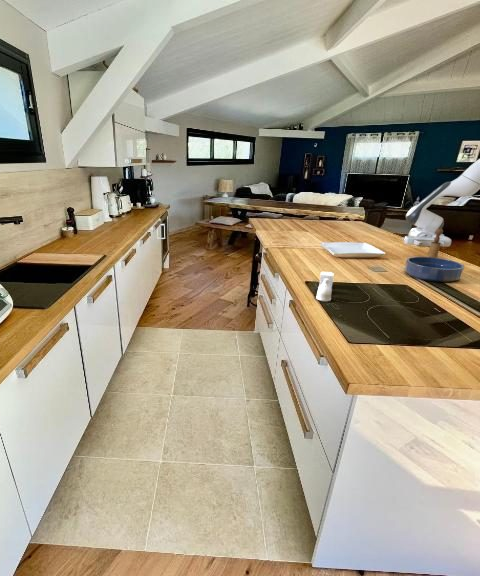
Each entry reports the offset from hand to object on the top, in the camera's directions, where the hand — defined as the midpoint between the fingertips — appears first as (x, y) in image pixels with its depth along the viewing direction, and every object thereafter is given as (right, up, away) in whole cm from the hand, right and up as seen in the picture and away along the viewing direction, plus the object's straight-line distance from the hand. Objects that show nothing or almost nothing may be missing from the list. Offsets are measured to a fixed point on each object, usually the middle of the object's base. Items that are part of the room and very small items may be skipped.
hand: (431, 244), depth 160 cm
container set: (-70, -24, -35) cm, 82 cm away
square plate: (-32, -3, +20) cm, 38 cm away
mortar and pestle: (-2, -11, -3) cm, 11 cm away
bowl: (-14, -17, -18) cm, 29 cm away
